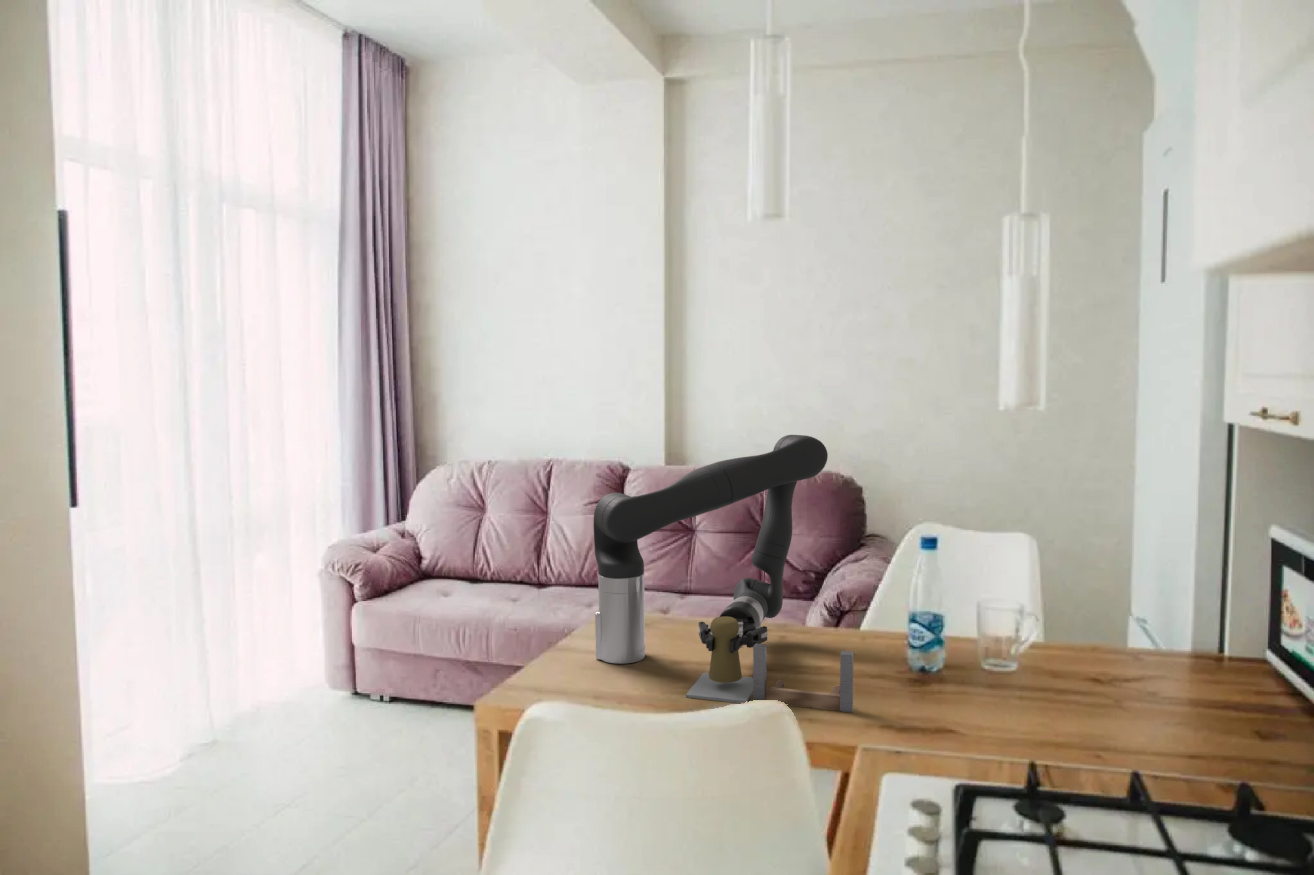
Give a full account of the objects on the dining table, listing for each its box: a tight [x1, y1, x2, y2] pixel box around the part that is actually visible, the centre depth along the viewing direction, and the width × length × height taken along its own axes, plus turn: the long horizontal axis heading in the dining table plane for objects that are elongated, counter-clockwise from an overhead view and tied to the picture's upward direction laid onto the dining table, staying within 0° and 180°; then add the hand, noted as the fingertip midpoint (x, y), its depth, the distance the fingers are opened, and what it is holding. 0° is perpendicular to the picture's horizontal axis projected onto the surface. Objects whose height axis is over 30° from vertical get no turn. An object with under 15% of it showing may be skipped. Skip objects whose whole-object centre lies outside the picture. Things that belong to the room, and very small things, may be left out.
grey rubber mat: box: [685, 672, 753, 704], centre depth 170 cm, size 11×12×1 cm
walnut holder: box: [752, 643, 854, 714], centre depth 164 cm, size 17×9×10 cm, turn 72°
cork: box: [708, 616, 743, 683], centre depth 169 cm, size 6×6×11 cm
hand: (721, 646), depth 166 cm, fingers closed on cork, 3 cm apart
